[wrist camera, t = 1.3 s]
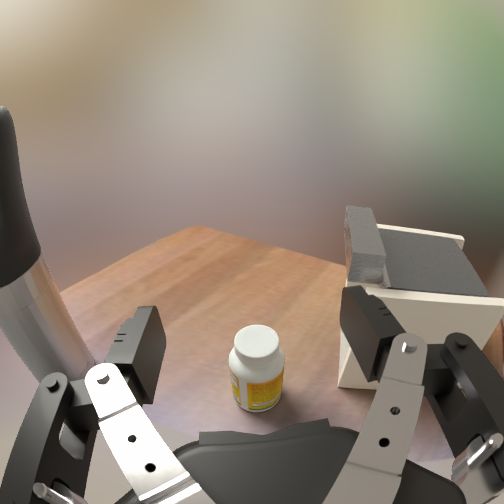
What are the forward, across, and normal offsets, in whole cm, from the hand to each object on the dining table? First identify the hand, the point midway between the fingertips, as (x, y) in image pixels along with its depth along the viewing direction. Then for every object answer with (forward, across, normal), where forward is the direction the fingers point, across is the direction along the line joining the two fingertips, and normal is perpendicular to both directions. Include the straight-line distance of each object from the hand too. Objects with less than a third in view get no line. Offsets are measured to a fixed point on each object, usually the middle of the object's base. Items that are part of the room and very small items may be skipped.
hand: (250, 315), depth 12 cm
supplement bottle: (+11, 0, +19) cm, 22 cm away
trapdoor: (+14, -18, +7) cm, 24 cm away
